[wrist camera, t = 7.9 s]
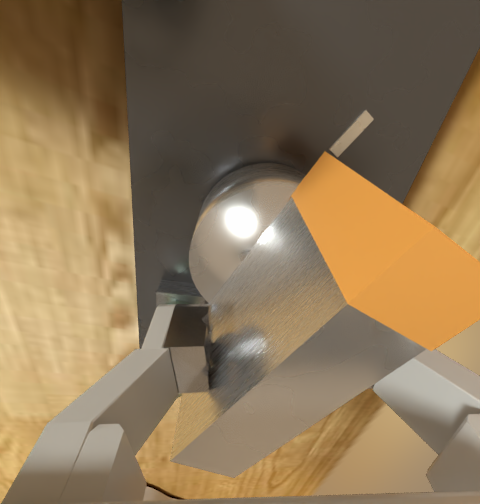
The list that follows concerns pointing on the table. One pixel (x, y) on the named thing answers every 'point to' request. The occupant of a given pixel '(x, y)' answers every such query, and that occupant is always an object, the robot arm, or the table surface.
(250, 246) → the knob
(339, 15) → the stand
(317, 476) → the table surface
